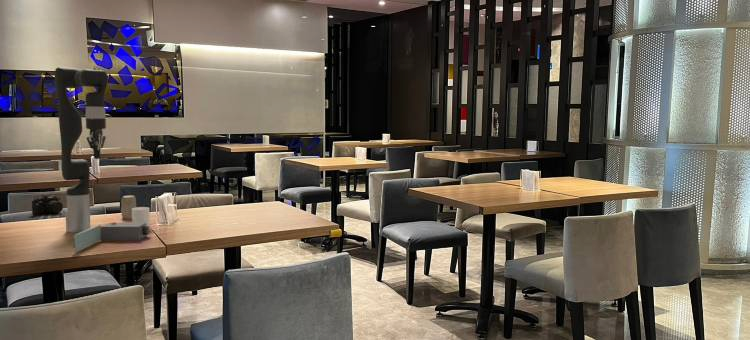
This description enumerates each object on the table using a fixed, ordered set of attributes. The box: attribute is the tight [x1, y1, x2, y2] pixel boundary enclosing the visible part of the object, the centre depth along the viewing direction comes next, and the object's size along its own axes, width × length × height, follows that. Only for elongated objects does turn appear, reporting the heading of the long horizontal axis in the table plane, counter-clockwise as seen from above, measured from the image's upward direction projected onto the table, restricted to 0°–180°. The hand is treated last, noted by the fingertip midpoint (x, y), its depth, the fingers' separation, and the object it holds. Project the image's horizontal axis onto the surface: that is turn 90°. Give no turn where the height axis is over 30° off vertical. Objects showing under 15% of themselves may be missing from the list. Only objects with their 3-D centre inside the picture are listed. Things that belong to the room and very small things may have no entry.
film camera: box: [31, 193, 64, 216], centre depth 308 cm, size 18×12×10 cm
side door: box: [72, 224, 101, 252], centre depth 229 cm, size 21×2×6 cm, turn 2°
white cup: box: [131, 206, 151, 227], centre depth 265 cm, size 8×8×10 cm
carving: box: [120, 195, 137, 220], centre depth 291 cm, size 6×8×12 cm
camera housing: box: [100, 222, 150, 242], centre depth 245 cm, size 17×9×7 cm, turn 93°
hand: (97, 158), depth 238 cm, fingers closed
